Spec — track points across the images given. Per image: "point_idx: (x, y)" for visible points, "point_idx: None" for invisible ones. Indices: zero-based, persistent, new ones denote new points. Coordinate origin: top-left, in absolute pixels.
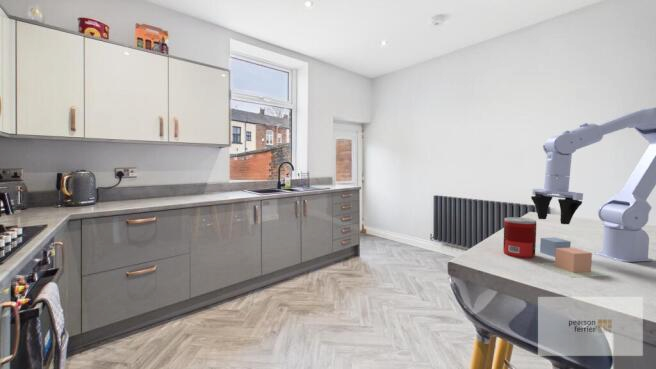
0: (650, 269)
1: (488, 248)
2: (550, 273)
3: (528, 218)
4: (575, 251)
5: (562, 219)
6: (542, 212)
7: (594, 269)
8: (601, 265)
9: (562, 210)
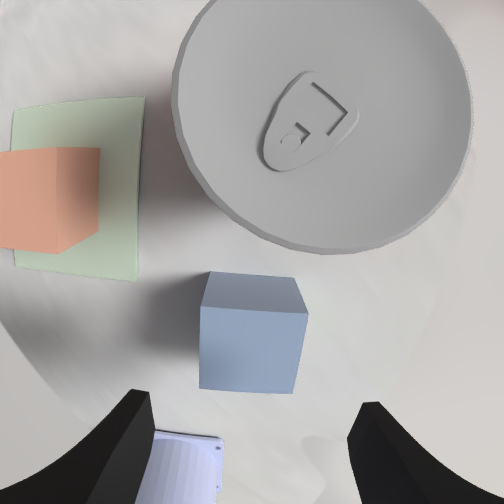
0: (81, 420)
1: None
2: (61, 75)
3: (364, 246)
4: (7, 195)
5: (115, 410)
6: (375, 461)
7: (54, 266)
8: (106, 348)
9: (75, 468)
